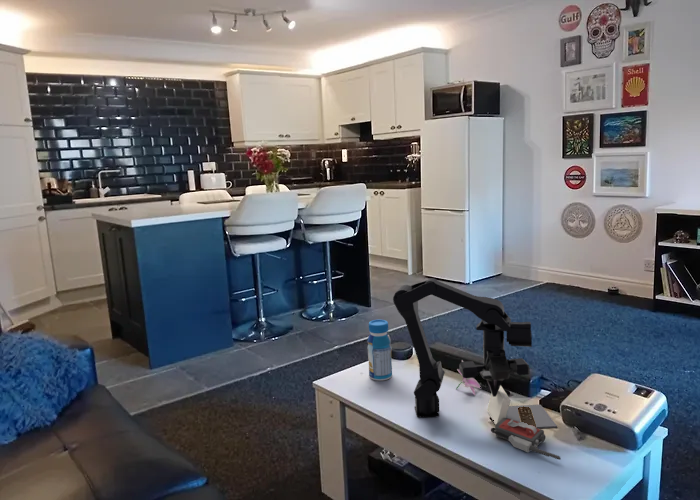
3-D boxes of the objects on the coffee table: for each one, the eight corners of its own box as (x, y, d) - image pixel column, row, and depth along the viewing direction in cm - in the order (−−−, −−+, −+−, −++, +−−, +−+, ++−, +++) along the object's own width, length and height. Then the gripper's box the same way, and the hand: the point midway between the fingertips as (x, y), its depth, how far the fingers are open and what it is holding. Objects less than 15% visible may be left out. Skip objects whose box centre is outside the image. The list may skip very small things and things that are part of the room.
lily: (460, 403, 168) (474, 381, 166) (438, 381, 176) (451, 359, 173) (480, 402, 176) (494, 381, 173) (458, 380, 183) (471, 360, 181)
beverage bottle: (383, 383, 183) (381, 327, 180) (363, 378, 189) (361, 323, 185) (397, 374, 190) (395, 320, 186) (378, 369, 195) (375, 317, 192)
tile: (496, 426, 151) (503, 398, 149) (487, 409, 161) (493, 383, 159) (503, 427, 151) (511, 400, 149) (494, 410, 161) (500, 384, 159)
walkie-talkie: (486, 438, 146) (558, 465, 132) (485, 423, 145) (558, 449, 131) (502, 424, 152) (573, 449, 138) (502, 410, 151) (573, 433, 137)
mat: (506, 429, 149) (506, 428, 149) (494, 408, 162) (494, 406, 162) (557, 427, 149) (557, 425, 149) (540, 405, 162) (540, 404, 162)
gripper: (467, 357, 144) (468, 411, 147) (536, 353, 144) (536, 407, 147) (458, 342, 155) (459, 393, 158) (523, 338, 155) (523, 389, 158)
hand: (494, 396), depth 155 cm, fingers closed
